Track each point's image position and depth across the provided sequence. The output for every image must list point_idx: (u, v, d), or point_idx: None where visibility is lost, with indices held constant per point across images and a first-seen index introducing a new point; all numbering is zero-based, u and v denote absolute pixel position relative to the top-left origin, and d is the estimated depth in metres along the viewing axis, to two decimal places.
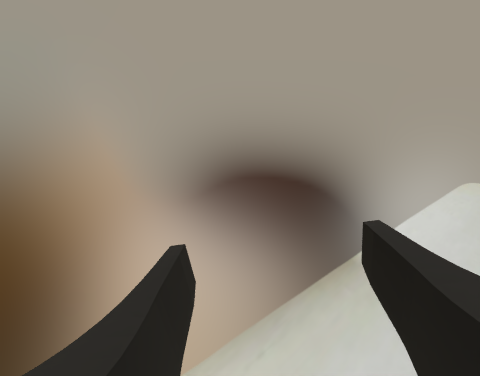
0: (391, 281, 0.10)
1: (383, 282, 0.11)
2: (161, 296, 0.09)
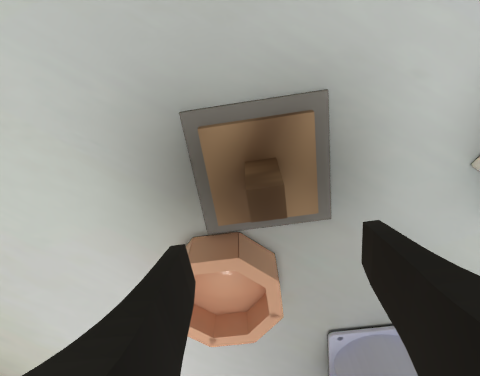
0: (391, 281, 0.10)
1: (383, 282, 0.11)
2: (161, 296, 0.09)
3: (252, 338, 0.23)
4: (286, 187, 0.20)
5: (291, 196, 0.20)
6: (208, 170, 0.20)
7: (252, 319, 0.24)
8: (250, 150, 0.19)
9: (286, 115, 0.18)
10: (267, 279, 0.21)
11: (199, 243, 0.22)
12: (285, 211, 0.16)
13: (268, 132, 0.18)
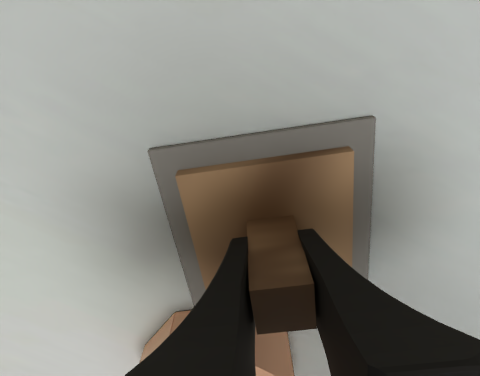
0: None
1: None
2: (242, 287, 0.09)
3: None
4: None
5: None
6: (193, 232, 0.13)
7: None
8: (255, 205, 0.13)
9: (310, 155, 0.12)
10: None
11: None
12: (313, 320, 0.10)
13: (283, 180, 0.12)
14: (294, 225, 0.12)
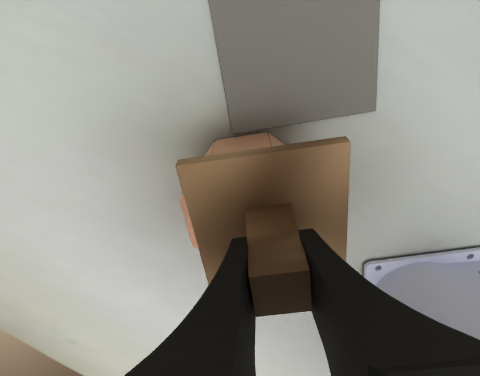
0: (314, 290, 0.10)
1: None
2: (242, 287, 0.09)
3: None
4: None
5: None
6: (193, 220, 0.14)
7: None
8: (253, 194, 0.13)
9: (308, 146, 0.12)
10: None
11: (223, 142, 0.19)
12: (309, 303, 0.11)
13: (280, 170, 0.12)
14: (291, 213, 0.13)
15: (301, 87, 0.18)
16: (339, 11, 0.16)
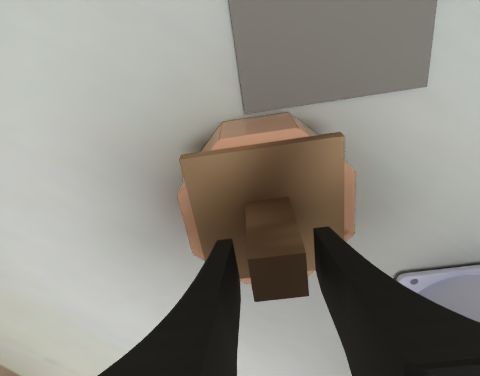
0: (332, 288, 0.10)
1: (328, 288, 0.11)
2: (222, 289, 0.09)
3: None
4: (302, 235, 0.15)
5: (308, 246, 0.15)
6: (195, 213, 0.14)
7: None
8: (253, 187, 0.14)
9: (304, 140, 0.13)
10: None
11: (233, 124, 0.15)
12: (306, 287, 0.11)
13: (278, 164, 0.13)
14: (289, 205, 0.13)
15: (334, 54, 0.14)
16: None
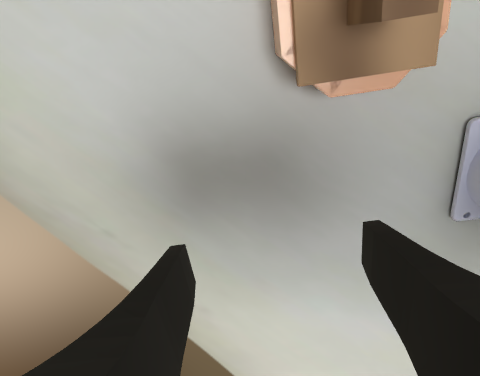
0: (391, 281, 0.10)
1: (383, 282, 0.11)
2: (161, 296, 0.09)
3: (392, 77, 0.16)
4: (399, 21, 0.15)
5: (403, 37, 0.15)
6: None
7: None
8: None
9: None
10: None
11: None
12: None
13: None
14: None
15: None
16: None
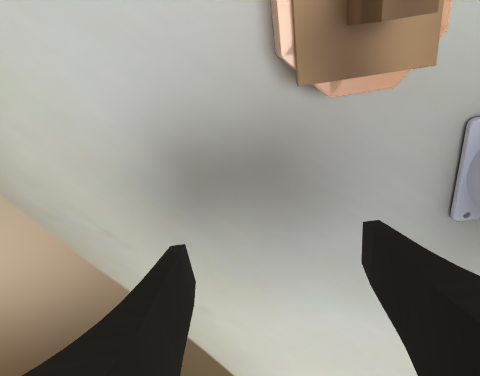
0: (391, 281, 0.10)
1: (383, 282, 0.11)
2: (161, 296, 0.09)
3: (392, 77, 0.16)
4: (399, 21, 0.15)
5: (403, 37, 0.15)
6: None
7: None
8: None
9: None
10: None
11: None
12: None
13: None
14: None
15: None
16: None
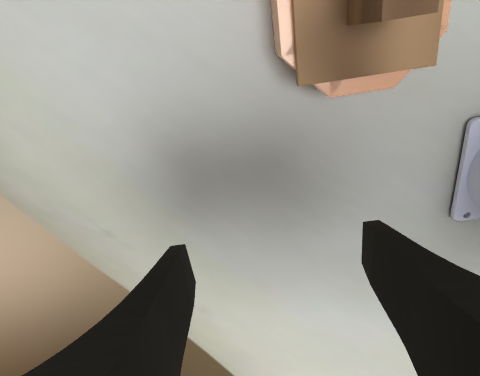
0: (391, 281, 0.10)
1: (383, 282, 0.11)
2: (161, 296, 0.09)
3: (392, 77, 0.16)
4: (399, 21, 0.15)
5: (403, 37, 0.15)
6: None
7: None
8: None
9: None
10: None
11: None
12: None
13: None
14: None
15: None
16: None
